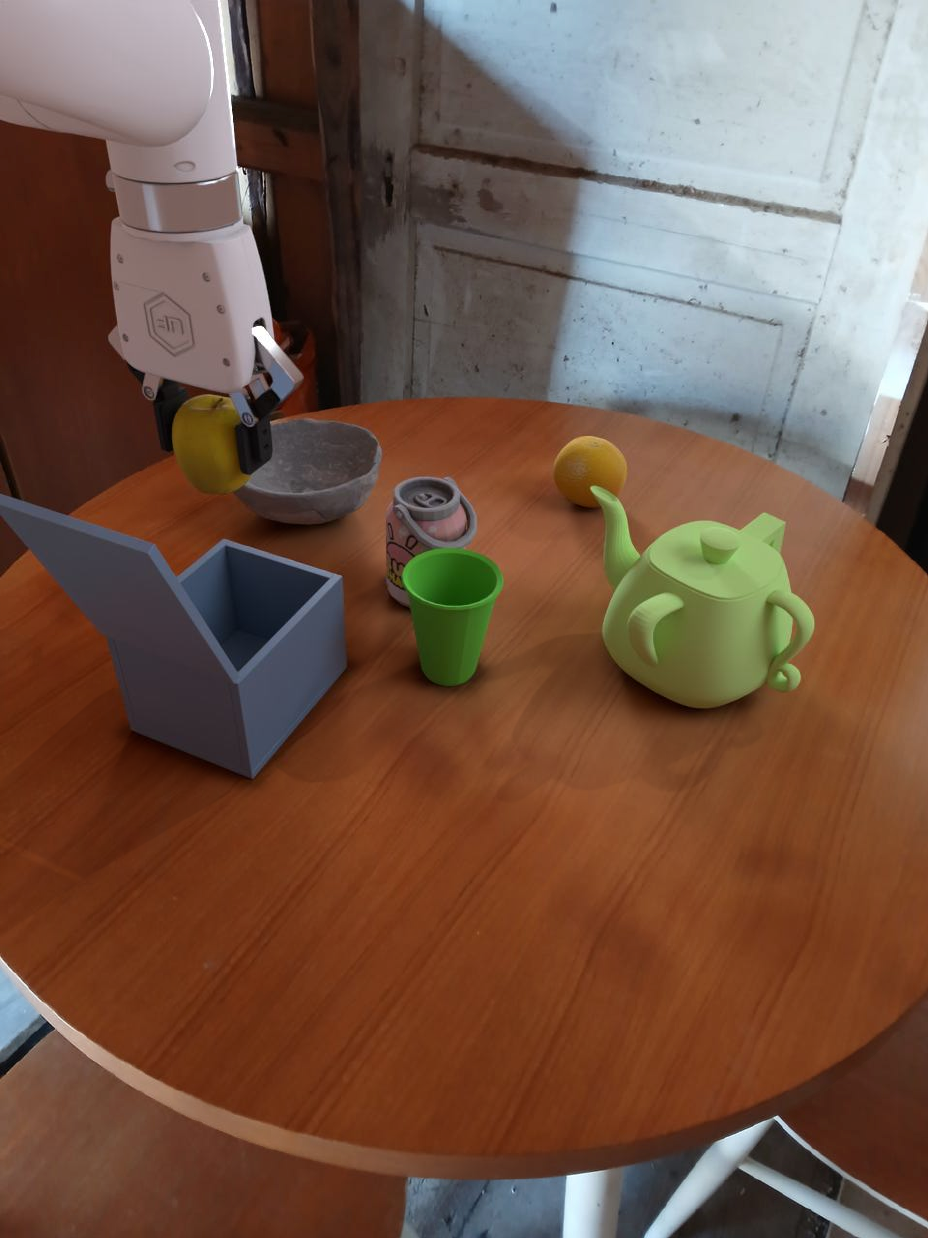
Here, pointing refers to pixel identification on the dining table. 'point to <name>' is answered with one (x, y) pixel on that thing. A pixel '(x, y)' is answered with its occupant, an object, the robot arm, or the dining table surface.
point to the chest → (241, 659)
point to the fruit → (589, 469)
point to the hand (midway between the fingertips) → (216, 453)
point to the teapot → (702, 609)
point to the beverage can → (424, 525)
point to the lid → (120, 586)
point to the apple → (208, 444)
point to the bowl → (314, 472)
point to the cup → (451, 610)
